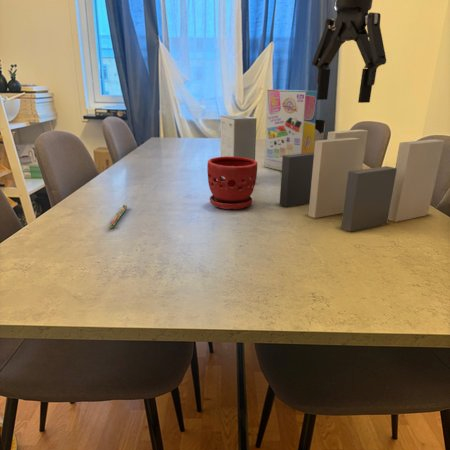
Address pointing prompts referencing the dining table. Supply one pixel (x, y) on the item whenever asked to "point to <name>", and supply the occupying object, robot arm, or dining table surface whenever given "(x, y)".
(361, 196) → the grey books
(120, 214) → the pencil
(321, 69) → the robot arm
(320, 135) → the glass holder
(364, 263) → the dining table surface
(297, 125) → the game box
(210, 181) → the flower pot
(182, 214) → the dining table surface
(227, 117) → the hard drive box
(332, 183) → the white book
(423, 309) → the dining table surface
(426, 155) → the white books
